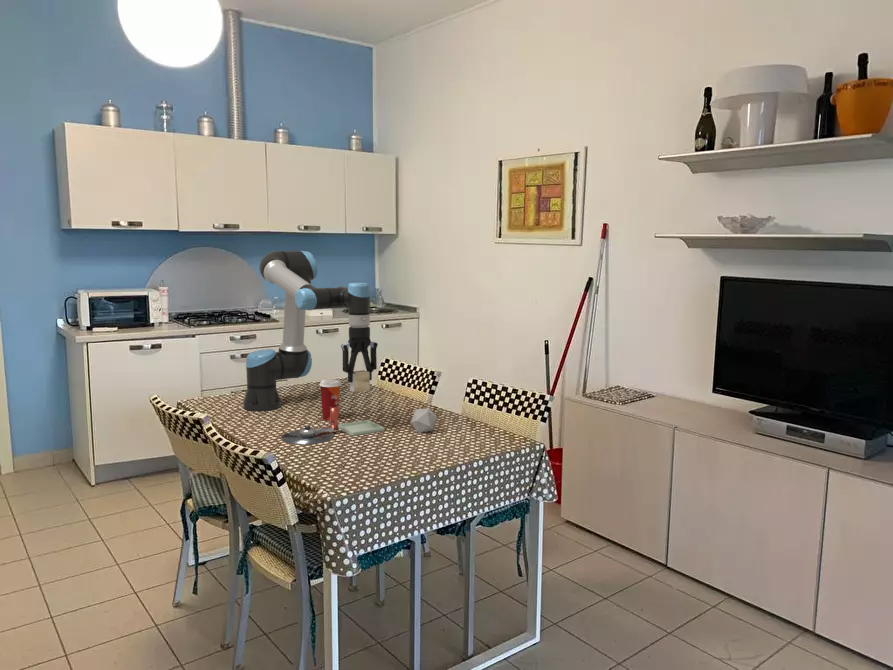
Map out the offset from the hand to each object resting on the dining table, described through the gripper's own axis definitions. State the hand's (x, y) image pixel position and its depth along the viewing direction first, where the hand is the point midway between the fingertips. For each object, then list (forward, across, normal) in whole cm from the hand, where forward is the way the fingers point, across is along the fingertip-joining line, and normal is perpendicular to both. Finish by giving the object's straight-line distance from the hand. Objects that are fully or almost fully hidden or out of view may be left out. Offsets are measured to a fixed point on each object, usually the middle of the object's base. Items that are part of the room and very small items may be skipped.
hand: (360, 390), depth 243 cm
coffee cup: (+15, -3, +20) cm, 25 cm away
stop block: (0, 0, 0) cm, 0 cm away
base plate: (+15, -20, +1) cm, 25 cm away
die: (+15, +19, -13) cm, 28 cm away
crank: (+14, -15, +1) cm, 21 cm away
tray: (+15, 0, 0) cm, 15 cm away
